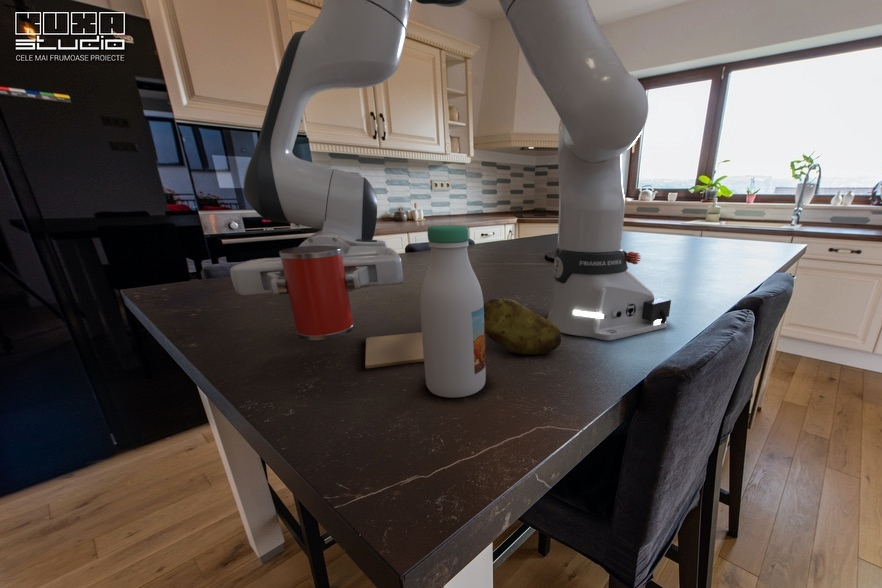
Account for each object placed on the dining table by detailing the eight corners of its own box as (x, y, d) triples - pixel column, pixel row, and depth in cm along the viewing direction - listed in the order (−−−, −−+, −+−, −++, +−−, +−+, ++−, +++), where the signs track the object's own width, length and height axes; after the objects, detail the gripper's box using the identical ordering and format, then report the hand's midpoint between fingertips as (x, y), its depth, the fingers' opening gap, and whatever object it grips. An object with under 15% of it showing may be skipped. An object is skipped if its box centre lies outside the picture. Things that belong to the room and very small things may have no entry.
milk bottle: (460, 405, 46) (452, 230, 39) (413, 389, 50) (397, 226, 43) (497, 380, 53) (495, 225, 45) (452, 368, 56) (444, 222, 49)
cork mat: (437, 332, 70) (437, 330, 70) (449, 358, 60) (449, 355, 60) (366, 340, 67) (366, 337, 67) (365, 368, 56) (365, 365, 56)
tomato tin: (355, 320, 53) (343, 244, 49) (353, 336, 47) (339, 251, 43) (301, 325, 51) (284, 247, 47) (292, 343, 45) (273, 255, 42)
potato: (537, 368, 56) (539, 314, 53) (470, 348, 63) (468, 300, 61) (566, 350, 63) (568, 301, 60) (501, 334, 70) (501, 290, 67)
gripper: (242, 246, 54) (204, 263, 42) (396, 239, 60) (402, 252, 48) (253, 291, 56) (220, 320, 44) (400, 280, 62) (408, 303, 50)
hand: (317, 284), depth 46 cm, fingers closed on tomato tin, 6 cm apart
